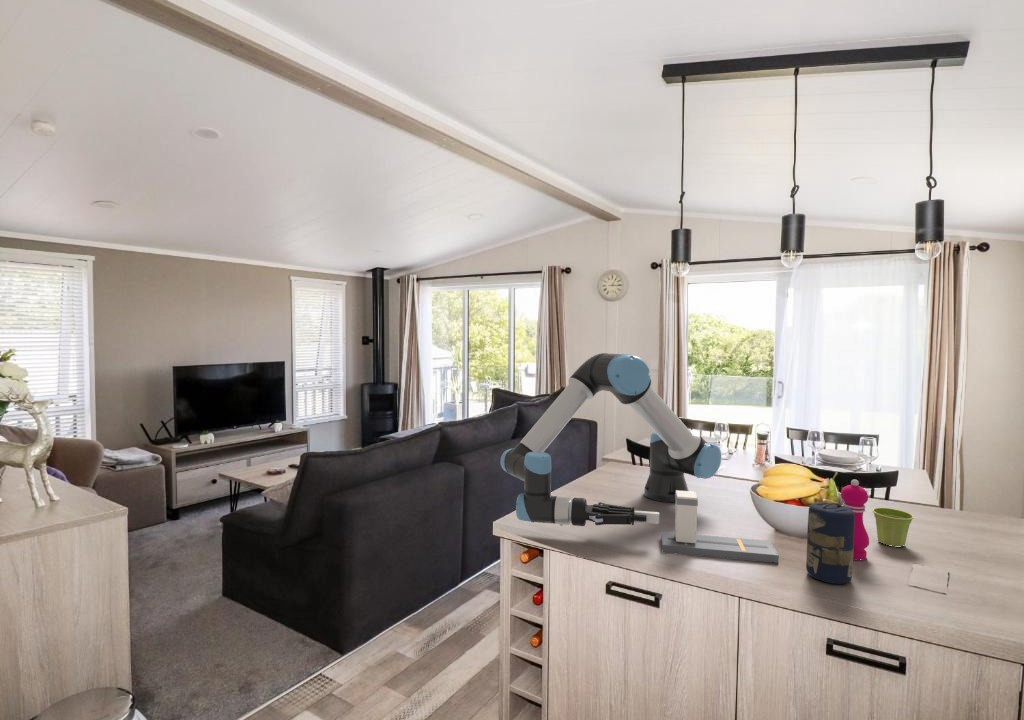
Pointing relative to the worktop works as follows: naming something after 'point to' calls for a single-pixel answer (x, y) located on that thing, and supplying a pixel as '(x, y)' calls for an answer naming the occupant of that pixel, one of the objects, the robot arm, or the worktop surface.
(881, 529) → the plant pot
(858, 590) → the worktop surface
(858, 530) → the pepper mill
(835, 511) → the canister
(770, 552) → the fader console
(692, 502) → the fader knob
